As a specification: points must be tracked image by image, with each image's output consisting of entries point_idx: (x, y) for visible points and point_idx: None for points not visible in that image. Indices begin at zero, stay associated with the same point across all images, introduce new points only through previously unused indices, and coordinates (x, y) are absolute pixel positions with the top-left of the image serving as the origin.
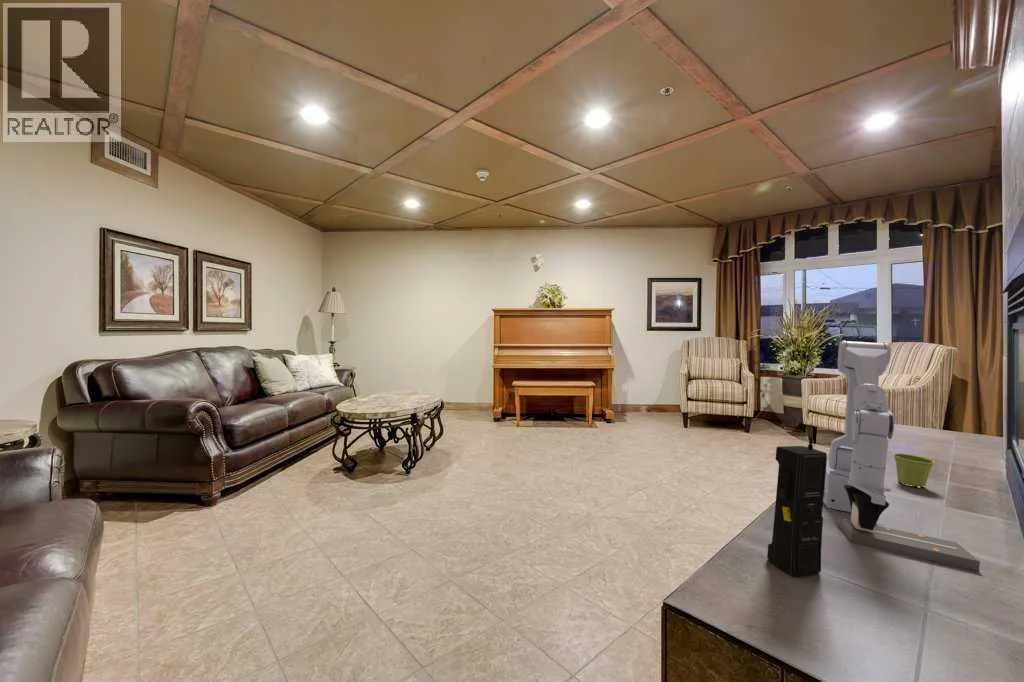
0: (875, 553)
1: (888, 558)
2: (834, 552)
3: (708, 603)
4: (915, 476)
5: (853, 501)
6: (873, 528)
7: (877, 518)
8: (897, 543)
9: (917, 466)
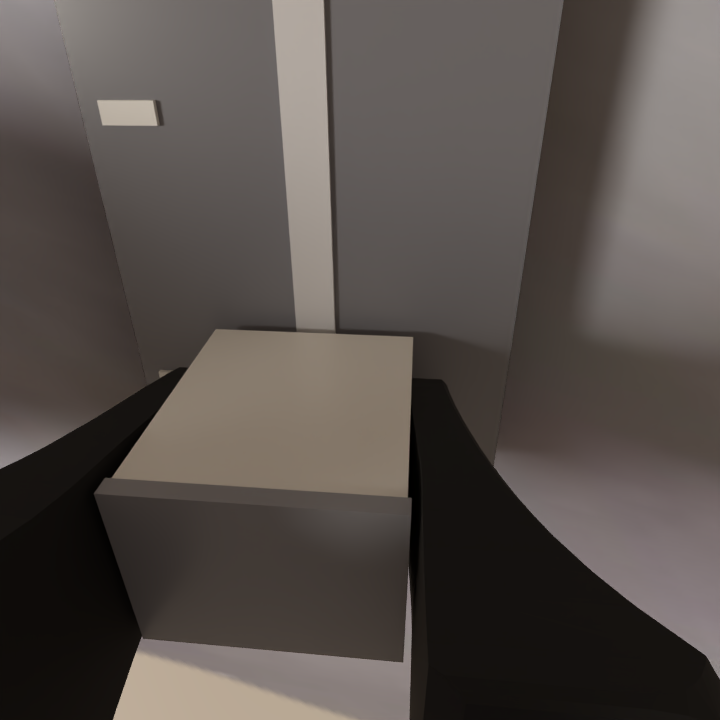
0: (623, 340)
1: (688, 272)
2: (712, 575)
3: None
4: None
5: (148, 631)
6: (445, 387)
7: (490, 469)
8: (536, 164)
9: None
